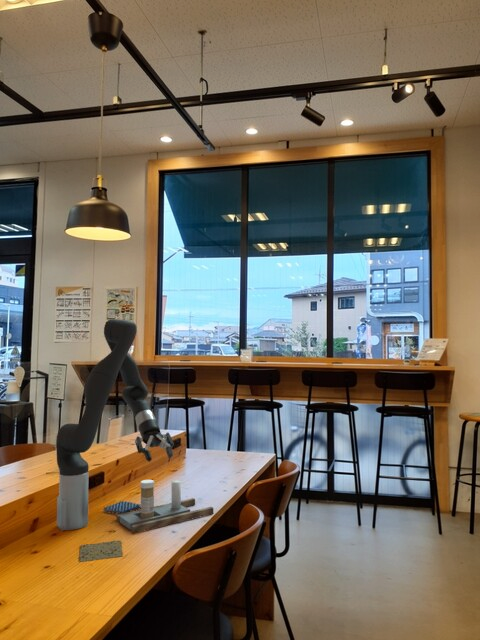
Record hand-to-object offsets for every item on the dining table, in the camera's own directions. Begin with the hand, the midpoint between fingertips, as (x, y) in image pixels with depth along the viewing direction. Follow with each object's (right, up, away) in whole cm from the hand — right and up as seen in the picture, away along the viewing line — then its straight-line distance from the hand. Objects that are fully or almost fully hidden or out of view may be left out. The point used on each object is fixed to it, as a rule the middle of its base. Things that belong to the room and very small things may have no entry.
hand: (160, 458), depth 177 cm
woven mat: (-13, -18, -5) cm, 23 cm away
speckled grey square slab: (-10, -15, -41) cm, 45 cm away
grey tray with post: (+1, -16, -16) cm, 23 cm away
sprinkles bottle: (-2, -16, -18) cm, 24 cm away
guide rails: (+4, -16, -13) cm, 22 cm away
